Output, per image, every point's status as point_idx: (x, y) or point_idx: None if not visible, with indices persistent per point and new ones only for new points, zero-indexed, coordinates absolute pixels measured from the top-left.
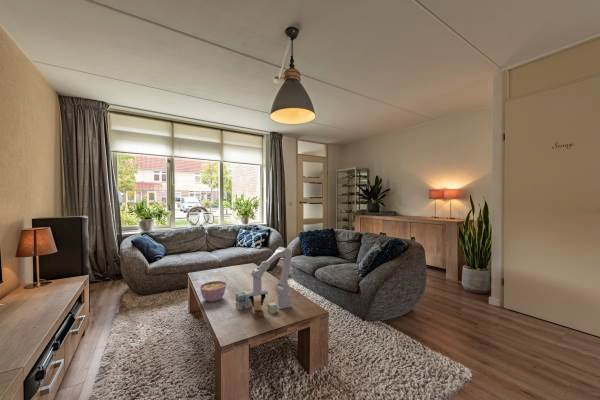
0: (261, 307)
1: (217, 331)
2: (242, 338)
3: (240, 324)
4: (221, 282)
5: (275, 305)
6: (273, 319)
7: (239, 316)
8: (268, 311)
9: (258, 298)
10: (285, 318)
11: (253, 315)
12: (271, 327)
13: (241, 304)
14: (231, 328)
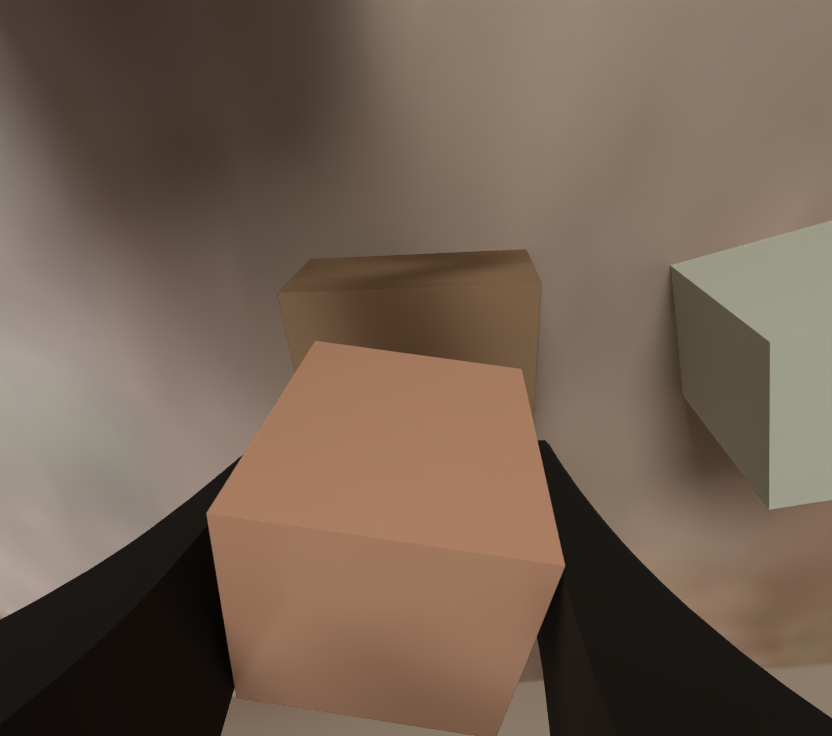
0: (540, 290)
1: None
2: (235, 693)
3: (166, 512)
4: None
5: None
6: (633, 549)
7: (85, 295)
8: (675, 298)
9: (441, 548)
10: (814, 581)
11: None
12: (537, 662)
13: None
14: (76, 548)
